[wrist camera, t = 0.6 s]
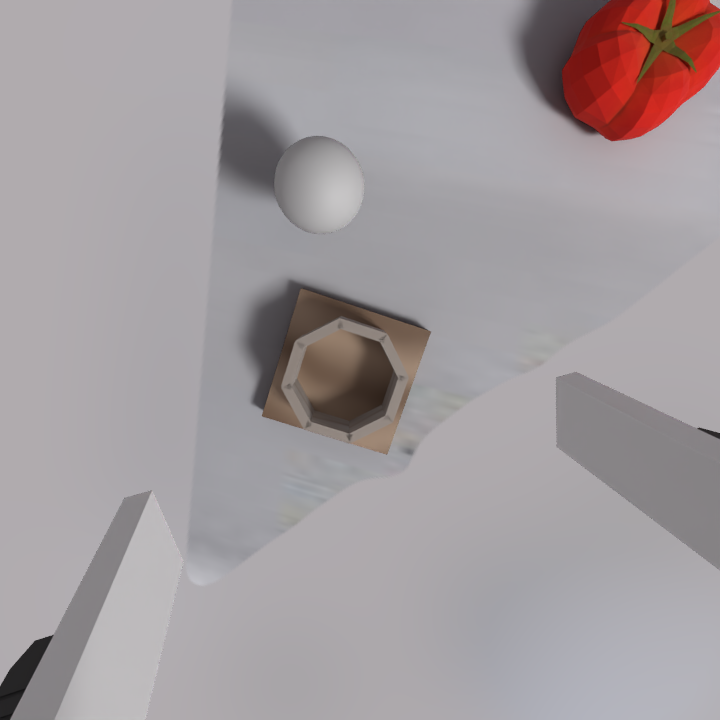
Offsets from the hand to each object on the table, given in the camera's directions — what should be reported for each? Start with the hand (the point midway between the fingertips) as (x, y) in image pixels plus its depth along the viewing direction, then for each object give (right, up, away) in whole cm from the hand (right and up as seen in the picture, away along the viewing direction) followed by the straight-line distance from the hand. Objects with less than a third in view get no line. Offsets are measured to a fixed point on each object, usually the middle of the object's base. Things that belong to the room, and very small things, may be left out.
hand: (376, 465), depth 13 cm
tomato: (+21, +27, +22) cm, 41 cm away
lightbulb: (-3, +16, +23) cm, 28 cm away
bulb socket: (-2, +2, +25) cm, 25 cm away
